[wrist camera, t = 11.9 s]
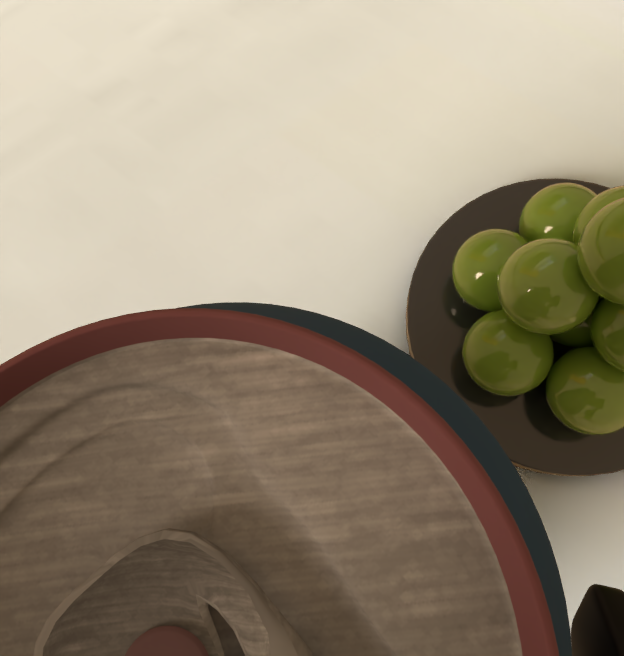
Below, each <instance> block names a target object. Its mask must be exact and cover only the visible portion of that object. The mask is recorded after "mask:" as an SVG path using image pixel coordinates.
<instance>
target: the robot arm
mask: <svg viewBox="0 0 624 656" xmlns="http://www.w3.org/2000/svg"><path fill="white" fill-rule="evenodd" d="M571 644H572V656H624V592H623V591H622V590H620V589H616V588H612V587H607V586H603V585H598V584H594V585H592V586H590V587H589V589H588V590H587V592H586V594H585V596H584V598H583V600H582V602H581V604H580V606H579V608H578V610H577V612H576V614H575V616H574V619H573V622H572V627H571Z"/></svg>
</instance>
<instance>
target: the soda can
mask: <svg viewBox="0 0 624 656" xmlns="http://www.w3.org/2000/svg"><path fill="white" fill-rule="evenodd" d="M0 656H572V646H571V634H570V626H569V620H568V613H567V607H566V600H565V596H564V592H563V587H562V583H561V579H560V574H559V570H558V567H557V564H556V560H555V557H554V554H553V551H552V547H551V544H550V541H549V539H548V536H547V533H546V531H545V528H544V526H543V523H542V520H541V518H540V515H539V513H538V511H537V509H536V507H535V505H534V503H533V500H532V498H531V496H530V494H529V492H528V490H527V488H526V486H525V484H524V483H523V481H522V479H521V477H520V476H519V474H518V472H517V470H516V469H515V467H514V465H513V463H512V462H511V460H510V459H509V457H508V456H507V454H506V453H505V451H504V450H503V448H502V447H501V445H500V444H499V442H498V441H497V440H496V438H495V437H494V436H493V435H492V433H491V432H490V431H489V429H488V428H487V427H486V426H485V424H484V423H483V422H482V420H481V419H480V418H479V417H478V416H477V415H476V414H475V413H474V412H473V410H472V409H471V408H470V407H469V406H468V405H467V404H466V403H465V402H464V401H463V400H462V399H461V398H460V397H459V396H458V395H457V394H456V393H455V392H454V391H453V390H452V389H451V388H450V387H449V386H448V385H447V384H446V383H444V382H443V381H442V380H441V379H440V378H438V377H437V376H436V375H435V374H433V373H432V372H431V371H430V370H429V369H427V368H426V367H425V366H423V365H422V364H421V363H419V362H418V361H416V360H415V359H413V358H412V357H411V356H409V355H408V354H406V353H405V352H403V351H401V350H400V349H398V348H396V347H395V346H393V345H391V344H390V343H388V342H386V341H385V340H383V339H381V338H379V337H377V336H375V335H373V334H370V333H368V332H366V331H364V330H362V329H360V328H358V327H355V326H353V325H350V324H348V323H345V322H343V321H340V320H337V319H334V318H331V317H328V316H324V315H321V314H318V313H314V312H310V311H306V310H301V309H297V308H292V307H285V306H279V305H272V304H260V303H213V304H201V305H194V306H188V307H181V308H176V309H164V310H152V311H145V312H139V313H132V314H126V315H122V316H118V317H113V318H109V319H105V320H101V321H98V322H95V323H91V324H88V325H85V326H82V327H78V328H76V329H73V330H71V331H68V332H65V333H63V334H60V335H58V336H55V337H53V338H51V339H49V340H46V341H44V342H42V343H40V344H38V345H36V346H34V347H32V348H30V349H28V350H26V351H24V352H22V353H21V354H19V355H17V356H15V357H14V358H12V359H10V360H8V361H6V362H5V363H3V364H2V365H0Z"/></svg>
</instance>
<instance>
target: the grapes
mask: <svg viewBox="0 0 624 656" xmlns="http://www.w3.org/2000/svg"><path fill="white" fill-rule="evenodd" d="M406 335H407V341H408V346H409V352H410V355H411V357H412V358H413V359H415V360H416V361H418V362H419V363H421V364H422V365H423V366H425V367H426V368H427V369H429V370H430V371H431V372H432V373H433V374H435V375H436V376H437V377H438V378H440V379H441V380H442V381H443V382H444V383H446V384H447V385H448V386H449V387H450V388H451V389H452V390H453V391H454V392H455V393H456V394H457V395H458V396H459V397H460V398H461V399H462V400H463V401H464V402H465V403H466V404H467V405H468V406H469V407H470V408H471V409H472V410H473V412H474V413H475V414H476V415H477V416H478V417H479V418H480V419H481V420H482V422H483V423H484V424H485V426H486V427H487V428H488V429H489V431H490V432H491V433H492V435H493V436H494V437H495V438H496V440H497V441H498V442H499V444H500V445H501V447H502V448H503V450H504V451H505V453H506V454H507V456H508V457H509V459H510V460H511V462H512V463H513V465H515V466H517V467H520V468H523V469H527V470H531V471H535V472H538V473H544V474H551V475H559V476H591V475H599V474H607V473H613V472H617V471H621V470H624V186H617V187H614V188H608V187H605V186H602V185H598V184H594V183H589V182H584V181H579V180H569V179H537V180H530V181H524V182H518V183H514V184H511V185H507V186H504V187H500V188H498V189H495V190H493V191H491V192H488V193H486V194H483V195H482V196H480V197H478V198H476V199H475V200H473V201H471V202H469V203H468V204H466V205H465V206H463V207H462V208H461V209H460V210H458V211H457V212H456V213H454V214H453V215H452V216H451V217H450V218H449V219H448V220H447V221H446V222H445V223H444V224H443V225H442V226H441V227H440V228H439V229H438V230H437V232H436V233H435V234H434V236H433V237H432V238H431V239H430V241H429V242H428V244H427V246H426V247H425V249H424V251H423V253H422V254H421V256H420V258H419V261H418V263H417V266H416V268H415V271H414V273H413V277H412V281H411V285H410V289H409V293H408V298H407V307H406Z"/></svg>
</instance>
